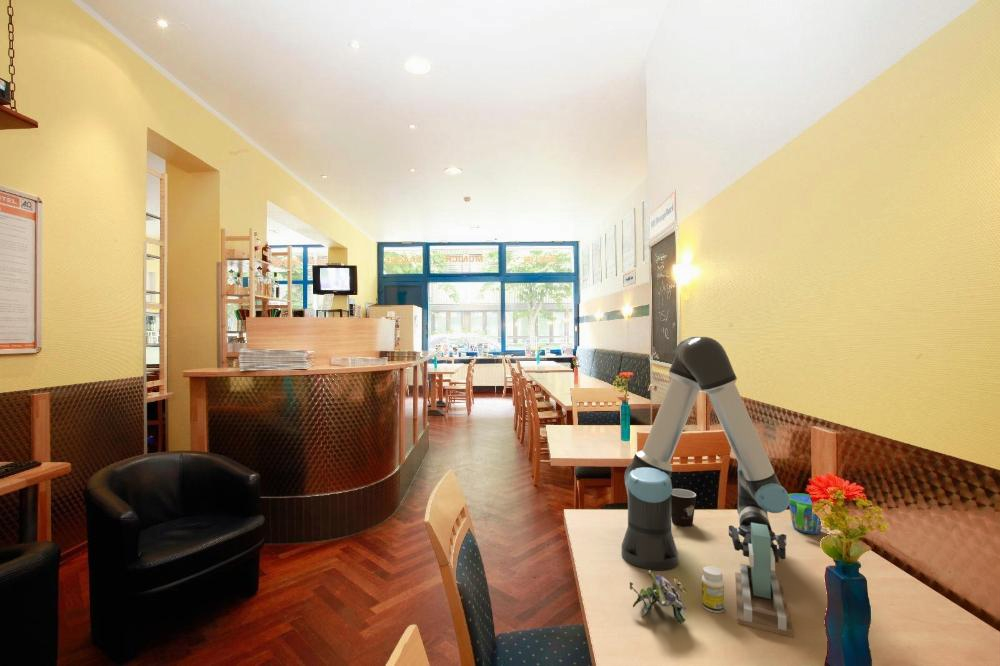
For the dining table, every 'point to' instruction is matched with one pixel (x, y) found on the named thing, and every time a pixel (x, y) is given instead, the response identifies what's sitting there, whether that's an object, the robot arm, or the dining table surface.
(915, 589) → the dining table surface
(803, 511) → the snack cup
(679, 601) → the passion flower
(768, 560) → the teal rectangular block
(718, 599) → the supplement bottle
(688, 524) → the coffee mug
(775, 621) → the track
